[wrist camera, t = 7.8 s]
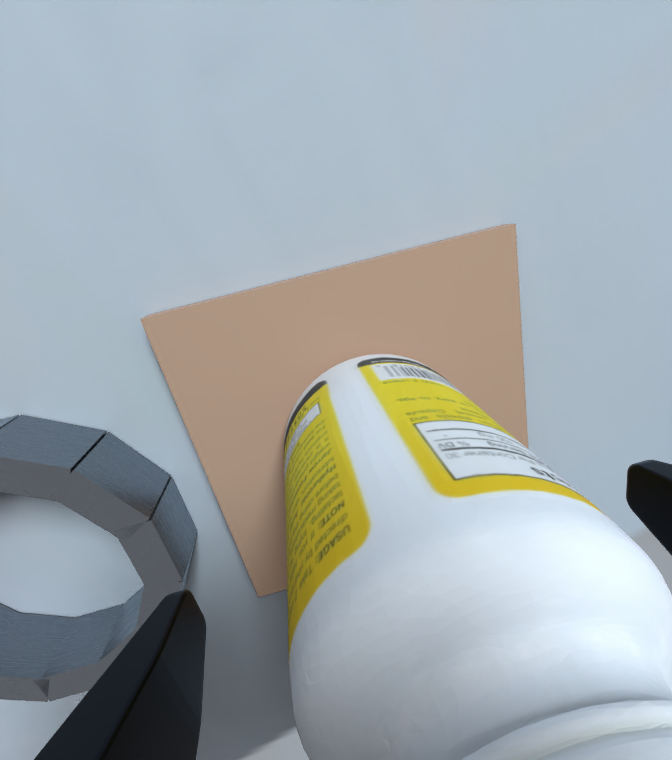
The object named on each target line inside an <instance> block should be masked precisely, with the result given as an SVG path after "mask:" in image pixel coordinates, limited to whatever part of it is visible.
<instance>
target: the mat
mask: <svg viewBox="0 0 672 760" xmlns="http://www.w3.org/2000/svg"><path fill="white" fill-rule="evenodd" d="M140 320H141V322H142V325H143V327H144V329H145V332H146V334H147V336H148V339H149V341H150V343H151V346H152V348H153V350H154V353H155V355H156V357H157V360H158V362H159V365H160V367H161V369H162V372H163V374H164V376H165V379H166V381H167V383H168V386H169V388H170V390H171V393H172V395H173V397H174V400H175V402H176V404H177V407H178V409H179V412H180V414H181V416H182V419H183V421H184V423H185V426H186V428H187V430H188V433H189V435H190V437H191V440H192V442H193V444H194V447H195V449H196V451H197V454H198V456H199V458H200V461H201V463H202V466H203V468H204V470H205V473H206V475H207V477H208V480H209V482H210V484H211V487H212V489H213V491H214V494H215V496H216V498H217V501H218V503H219V505H220V508H221V510H222V513H223V515H224V517H225V520H226V522H227V524H228V527H229V529H230V531H231V534H232V536H233V538H234V541H235V543H236V545H237V548H238V550H239V552H240V555H241V557H242V559H243V562H244V564H245V567H246V569H247V571H248V574H249V576H250V578H251V581H252V583H253V585H254V588H255V590H256V592H257V595H258V597H261V596H265V595H268V594H272V593H275V592H279V591H282V590H286V589H287V546H286V507H285V475H284V439H285V431H286V426H287V422H288V419H289V416H290V414H291V412H292V409H293V407H294V405H295V404H296V402H297V400H298V399H299V397H300V396H301V394H302V393H303V392H304V391H305V389H306V388H307V387H308V386H309V385H310V384H311V383H312V382H313V381H314V380H315V379H316V378H318V377H319V376H320V375H321V374H323V373H324V372H326V371H327V370H329V369H330V368H332V367H334V366H336V365H338V364H340V363H342V362H344V361H347V360H349V359H353V358H357V357H361V356H365V355H373V354H392V355H397V356H403V357H406V358H410V359H413V360H416V361H418V362H420V363H422V364H424V365H426V366H428V367H430V368H431V369H433V370H434V371H436V372H437V373H439V374H440V375H442V376H443V377H444V378H445V379H447V380H448V381H449V382H450V383H451V384H452V385H453V386H454V387H456V388H457V389H458V390H459V391H460V392H461V393H463V394H464V395H465V396H466V397H467V398H468V399H470V400H471V401H472V402H473V403H475V404H476V405H477V406H478V407H479V408H480V409H482V410H483V411H484V412H485V413H486V414H488V415H489V416H490V417H491V418H492V419H493V420H494V421H496V422H497V423H498V424H499V425H500V426H501V427H503V428H504V429H505V430H506V431H507V432H509V433H510V434H511V435H512V436H513V437H514V438H516V439H517V440H518V441H519V442H520V443H521V444H523V445H524V446H525V447H526V448H528V434H527V417H526V399H525V382H524V364H523V347H522V329H521V312H520V294H519V277H518V259H517V242H516V224H506V225H500V226H496V227H492V228H488V229H484V230H481V231H477V232H473V233H469V234H465V235H461V236H457V237H453V238H449V239H445V240H441V241H437V242H433V243H430V244H426V245H422V246H418V247H414V248H410V249H406V250H402V251H398V252H394V253H390V254H386V255H382V256H378V257H375V258H371V259H367V260H363V261H359V262H355V263H351V264H347V265H343V266H339V267H335V268H331V269H327V270H324V271H320V272H316V273H312V274H308V275H304V276H300V277H296V278H292V279H288V280H284V281H280V282H276V283H272V284H269V285H265V286H261V287H257V288H253V289H249V290H245V291H241V292H237V293H233V294H229V295H225V296H221V297H218V298H214V299H210V300H206V301H202V302H198V303H194V304H190V305H186V306H182V307H178V308H174V309H170V310H167V311H163V312H159V313H155V314H151V315H148V316H146V317H144V318H142V319H140Z"/></svg>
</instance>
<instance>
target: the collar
mask: <svg viewBox="0 0 672 760" xmlns="http://www.w3.org/2000/svg"><path fill="white" fill-rule="evenodd" d="M0 492H2V493H8V494H15V495H22V496H28V497H35V498H42V499H48V500H55V501H58V502H60V503H62V504H63V505H65V506H67V507H68V508H70V509H72V510H73V511H75V512H77V513H78V514H80V515H82V516H83V517H85V518H87V519H88V520H90V521H92V522H93V523H95V524H97V525H98V526H100V527H102V528H103V529H105V530H107V531H108V532H110V533H112V534H113V535H115V536H116V537H118V539H119V541H120V542H121V544H122V546H123V548H124V549H125V551H126V553H127V555H128V556H129V558H130V560H131V562H132V563H133V565H134V567H135V569H136V571H137V572H138V574H139V576H140V578H141V579H142V581H143V583H144V586H143V587H142V588H141V589H140V590H139V591H138V592H137V593H136V594H135V595H134V596H132V597H131V598H130V599H129V600H128V601H127V602H126V603H125V604H122V605H119V606H115V607H112V608H108V609H105V610H101V611H98V612H94V613H90V614H87V615H83V616H80V617H76V618H71V617H60V616H50V615H39V614H28V613H18V612H16V611H14V610H12V609H10V608H8V607H6V606H4V605H2V604H0V699H5V700H25V701H45V702H47V701H48V699H49V701H53V700H56V699H60V698H63V697H67V696H70V695H74V694H77V693H81V692H84V691H87V690H90V689H91V688H92V687H93V685H94V684H95V683H96V682H97V680H98V679H99V678H100V677H101V676H102V674H103V673H104V672H105V671H106V669H107V668H108V667H109V666H110V664H111V663H112V662H113V661H114V659H115V658H116V657H117V656H118V654H119V653H120V652H121V651H122V649H123V648H124V647H125V646H126V644H127V643H128V642H129V641H130V639H131V638H132V637H133V636H134V634H135V633H136V632H137V631H138V629H139V628H140V627H141V626H142V624H143V623H144V622H145V621H146V619H147V618H148V617H149V616H150V614H151V613H152V612H153V611H154V609H155V608H156V607H157V606H158V604H159V603H160V602H161V601H162V600H163V598H164V597H165V596H167V595H168V594H171V593H174V592H178V591H182V590H184V587H185V584H186V580H187V576H188V571H189V567H190V562H191V558H192V554H193V549H194V545H195V540H196V536H197V530H196V527H195V525H194V523H193V521H192V519H191V517H190V515H189V512H188V510H187V508H186V506H185V504H184V502H183V500H182V497H181V495H180V493H179V491H178V489H177V487H176V485H175V482H174V480H173V478H172V477H170V474H168V473H167V472H165V471H164V470H162V469H161V468H160V467H158V466H157V465H155V464H154V463H152V462H151V461H150V460H148V459H147V458H145V457H144V456H142V455H141V454H140V453H138V452H137V451H135V450H134V449H132V448H131V447H130V446H128V445H127V444H125V443H124V442H122V441H121V440H120V439H118V438H117V437H115V436H114V435H112V434H111V433H110V432H108V433H107V434H106V431H104V430H99V429H94V428H89V427H83V426H78V425H73V424H67V423H62V422H57V421H51V420H46V419H41V418H36V417H30V416H25V415H21V416H19V415H17V416H13V417H9V418H5V419H1V420H0Z"/></svg>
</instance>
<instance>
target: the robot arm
mask: <svg viewBox="0 0 672 760" xmlns="http://www.w3.org/2000/svg"><path fill="white" fill-rule="evenodd" d="M626 499H627V502H628V504H629V506H630V508H631V509H632V511H633V512H634V513H635V514H636V515H637V516H638V518H639V519H640V520H641V521H642V522H643V523H644V524H645V526H646V527H647V528H648V529H649V530H650V531H651V532H652V534H653V535H654V536H655V537H656V538H657V539H658V540H659V541H660V543H661V544H662V545H663V546H664V547H665V548H666V550H667V551H668V552H669V553H670V554H671V555H672V464H668V463H664V462H660V461H656V460H646V461H642V462H639V463H635V464H632V465H631V466H630V467H629V468H628V472H627V490H626ZM205 642H206V623H205V619H204V616H203V614H202V612H201V610H200V608H199V606H198V604H197V602H196V600H195V598H194V596H193V594H192V593H191V592H190V591H189V590H182V591H178V592H174V593H171V594H168V595H167V596H165V597H164V598H163V600H162V601H161V602H160V603H159V604H158V606H157V607H156V608H155V609H154V611H153V612H152V613H151V614H150V616H149V617H148V618H147V619H146V621H145V622H144V623H143V624H142V626H141V627H140V628H139V629H138V631H137V632H136V633H135V634H134V636H133V637H132V638H131V639H130V641H129V642H128V643H127V644H126V646H125V647H124V648H123V649H122V651H121V652H120V653H119V654H118V656H117V657H116V658H115V659H114V661H113V662H112V663H111V664H110V666H109V667H108V668H107V669H106V671H105V672H104V673H103V674H102V676H101V677H100V678H99V679H98V680H97V682H96V683H95V684H94V685H93V687H92V688H91V689H90V690H89V692H88V693H87V694H86V695H85V697H84V698H83V699H82V700H81V702H80V703H79V704H78V705H77V707H76V708H75V709H74V710H73V712H72V713H71V714H70V715H69V717H68V718H67V719H66V720H65V722H64V723H63V724H62V725H61V727H60V728H59V729H58V730H57V732H56V733H55V734H54V735H53V737H52V738H51V739H50V740H49V742H48V743H47V744H46V745H45V747H44V748H43V749H42V750H41V752H40V753H39V754H38V755H37V756H36V758H35V759H34V760H196V754H197V747H198V740H199V732H200V724H201V712H202V696H203V678H204V660H205Z"/></svg>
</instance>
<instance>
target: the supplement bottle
mask: <svg viewBox="0 0 672 760" xmlns="http://www.w3.org/2000/svg"><path fill="white" fill-rule="evenodd" d="M284 475H285V507H286V546H287V593H288V647H289V672H290V683H291V695H292V706H293V715H294V719H295V723H296V727H297V731H298V734H299V736H300V739H301V742H302V745H303V748H304V750H305V751H306V753H307V755H308V757H309V759H310V760H672V594H671V592H670V590H669V588H668V586H667V585H666V583H665V581H664V578H663V577H662V575H661V574H660V572H659V570H658V569H657V567H656V566H655V564H654V563H653V562H652V560H651V559H650V558H649V557H648V556H647V554H646V553H645V552H644V551H643V550H642V549H641V548H640V547H639V546H638V545H637V544H636V543H635V542H634V541H633V540H632V539H631V538H630V537H629V536H628V535H627V534H626V533H625V532H624V531H623V530H622V529H620V528H619V527H618V526H617V525H616V524H615V523H614V522H613V521H612V520H611V519H610V518H608V517H607V516H606V515H605V514H604V513H603V512H602V511H600V510H599V509H598V508H597V507H596V506H595V505H593V504H592V503H591V502H590V501H589V500H587V499H586V498H585V497H584V496H583V495H581V494H580V493H579V492H578V491H577V490H575V489H574V488H573V487H572V486H571V485H570V484H568V483H567V482H566V481H565V480H564V479H563V478H561V477H560V476H559V475H558V474H557V473H555V472H554V471H553V470H552V469H550V468H549V467H548V466H547V465H546V464H545V463H544V462H543V461H541V460H540V459H539V458H538V457H537V456H535V455H534V454H533V453H532V452H531V451H530V450H529V449H528V448H526V447H525V446H524V445H523V444H521V443H520V442H519V441H518V440H517V439H516V438H514V437H513V436H512V435H511V434H510V433H509V432H507V431H506V430H505V429H504V428H503V427H501V426H500V425H499V424H498V423H497V422H496V421H494V420H493V419H492V418H491V417H490V416H489V415H488V414H486V413H485V412H484V411H483V410H482V409H480V408H479V407H478V406H477V405H476V404H475V403H473V402H472V401H471V400H470V399H468V398H467V397H466V396H465V395H464V394H463V393H461V392H460V391H459V390H458V389H457V388H456V387H454V386H453V385H452V384H451V383H450V382H449V381H448V380H447V379H445V378H444V377H443V376H442V375H440V374H439V373H437V372H436V371H434V370H433V369H431V368H430V367H428V366H426V365H424V364H422V363H420V362H418V361H416V360H413V359H410V358H406V357H403V356H397V355H392V354H373V355H365V356H361V357H357V358H353V359H349V360H347V361H344V362H342V363H340V364H338V365H336V366H334V367H332V368H330V369H329V370H327V371H326V372H324V373H323V374H321V375H320V376H319V377H318V378H316V379H315V380H314V381H313V382H312V383H311V384H310V385H309V386H308V387H307V388H306V389H305V391H304V392H303V393H302V394H301V396H300V397H299V399H298V400H297V402H296V404H295V405H294V407H293V409H292V412H291V414H290V416H289V419H288V422H287V426H286V431H285V439H284Z"/></svg>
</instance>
